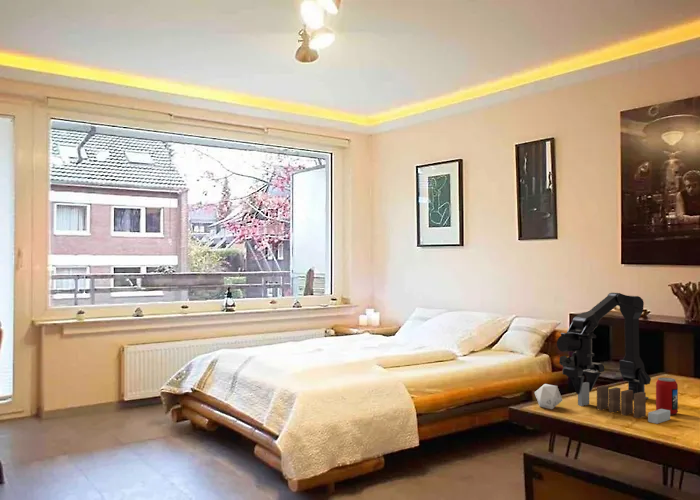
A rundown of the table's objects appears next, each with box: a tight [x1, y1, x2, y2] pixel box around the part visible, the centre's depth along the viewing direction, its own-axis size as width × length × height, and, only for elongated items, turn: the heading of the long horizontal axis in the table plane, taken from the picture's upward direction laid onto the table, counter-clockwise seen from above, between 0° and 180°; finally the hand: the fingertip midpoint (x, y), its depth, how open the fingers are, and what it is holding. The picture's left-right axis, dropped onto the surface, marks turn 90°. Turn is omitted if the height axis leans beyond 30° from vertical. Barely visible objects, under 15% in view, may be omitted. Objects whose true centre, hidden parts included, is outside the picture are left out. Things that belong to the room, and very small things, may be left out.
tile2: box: [608, 386, 621, 413], centre depth 216 cm, size 2×5×8 cm, turn 128°
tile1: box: [596, 385, 610, 411], centre depth 219 cm, size 2×5×8 cm, turn 128°
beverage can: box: [655, 377, 679, 416], centre depth 213 cm, size 7×7×12 cm
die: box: [533, 383, 563, 410], centre depth 221 cm, size 8×9×10 cm
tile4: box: [633, 392, 647, 419], centre depth 209 cm, size 2×5×8 cm, turn 128°
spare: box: [577, 381, 590, 407], centre depth 225 cm, size 2×5×8 cm, turn 128°
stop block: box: [647, 409, 671, 425], centre depth 203 cm, size 9×3×3 cm, turn 128°
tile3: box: [620, 389, 634, 416], centre depth 212 cm, size 2×5×8 cm, turn 128°
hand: (583, 392), depth 225 cm, fingers open, 7 cm apart
